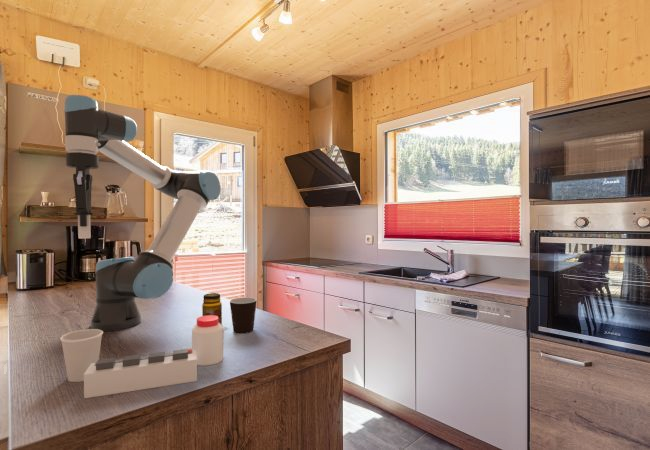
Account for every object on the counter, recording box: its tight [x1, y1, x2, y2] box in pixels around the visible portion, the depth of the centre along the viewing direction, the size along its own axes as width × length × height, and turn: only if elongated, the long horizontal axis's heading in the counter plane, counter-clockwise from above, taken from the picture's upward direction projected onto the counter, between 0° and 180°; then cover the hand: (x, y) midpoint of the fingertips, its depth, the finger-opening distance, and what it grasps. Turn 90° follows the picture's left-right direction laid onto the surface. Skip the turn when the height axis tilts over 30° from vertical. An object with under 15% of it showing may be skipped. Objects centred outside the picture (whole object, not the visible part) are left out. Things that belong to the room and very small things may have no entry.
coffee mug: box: [229, 296, 258, 335], centre depth 119 cm, size 12×9×10 cm
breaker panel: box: [83, 348, 198, 399], centre depth 81 cm, size 6×22×6 cm, turn 111°
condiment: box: [201, 292, 227, 331], centre depth 118 cm, size 7×8×12 cm
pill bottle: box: [191, 315, 224, 367], centre depth 94 cm, size 8×8×11 cm
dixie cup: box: [60, 328, 104, 383], centre depth 84 cm, size 8×8×10 cm
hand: (84, 238), depth 100 cm, fingers closed
